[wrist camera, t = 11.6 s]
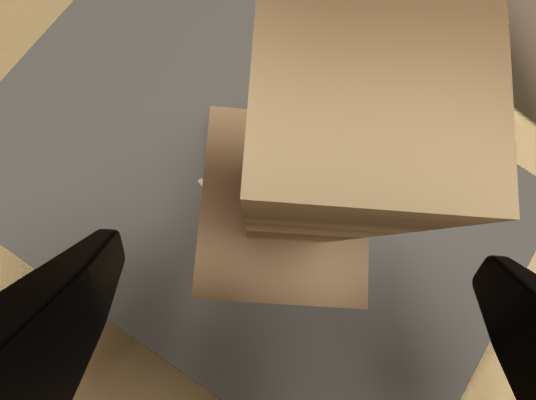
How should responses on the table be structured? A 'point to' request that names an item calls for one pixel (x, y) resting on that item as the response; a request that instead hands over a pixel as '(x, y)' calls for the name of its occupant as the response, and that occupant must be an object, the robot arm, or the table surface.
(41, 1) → the table surface
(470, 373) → the board
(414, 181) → the wooden block tower
